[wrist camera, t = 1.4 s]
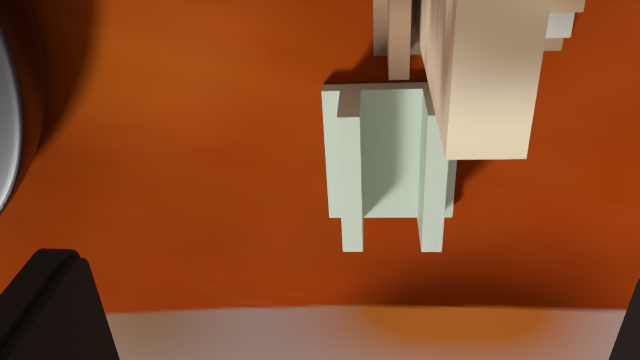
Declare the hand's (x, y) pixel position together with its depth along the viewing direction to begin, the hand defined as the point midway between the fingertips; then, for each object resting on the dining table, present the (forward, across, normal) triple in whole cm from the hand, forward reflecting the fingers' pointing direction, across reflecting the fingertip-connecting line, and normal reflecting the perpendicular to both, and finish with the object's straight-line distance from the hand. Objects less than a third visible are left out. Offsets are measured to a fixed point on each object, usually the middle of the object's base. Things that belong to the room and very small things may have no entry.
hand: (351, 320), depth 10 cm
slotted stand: (+24, -2, +10) cm, 26 cm away
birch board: (+23, -4, -3) cm, 23 cm away
